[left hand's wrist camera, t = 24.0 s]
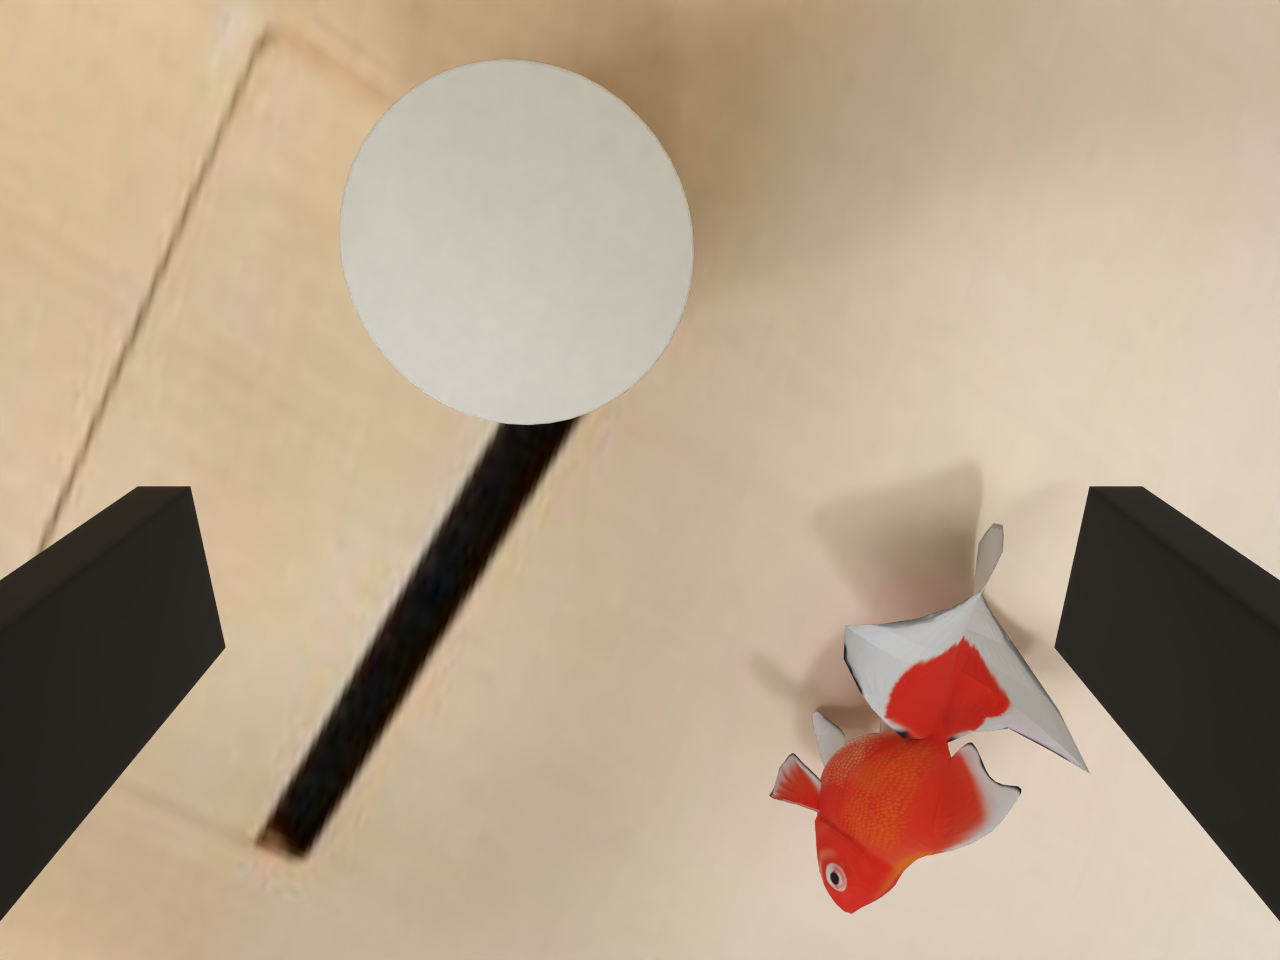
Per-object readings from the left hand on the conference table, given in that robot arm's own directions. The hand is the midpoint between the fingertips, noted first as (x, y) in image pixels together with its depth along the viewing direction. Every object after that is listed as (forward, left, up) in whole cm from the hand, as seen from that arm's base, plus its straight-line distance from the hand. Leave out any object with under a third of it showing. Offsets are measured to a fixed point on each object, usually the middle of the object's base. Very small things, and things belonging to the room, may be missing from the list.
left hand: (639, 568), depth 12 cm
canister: (+4, +1, -20) cm, 20 cm away
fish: (-17, -5, -20) cm, 26 cm away
